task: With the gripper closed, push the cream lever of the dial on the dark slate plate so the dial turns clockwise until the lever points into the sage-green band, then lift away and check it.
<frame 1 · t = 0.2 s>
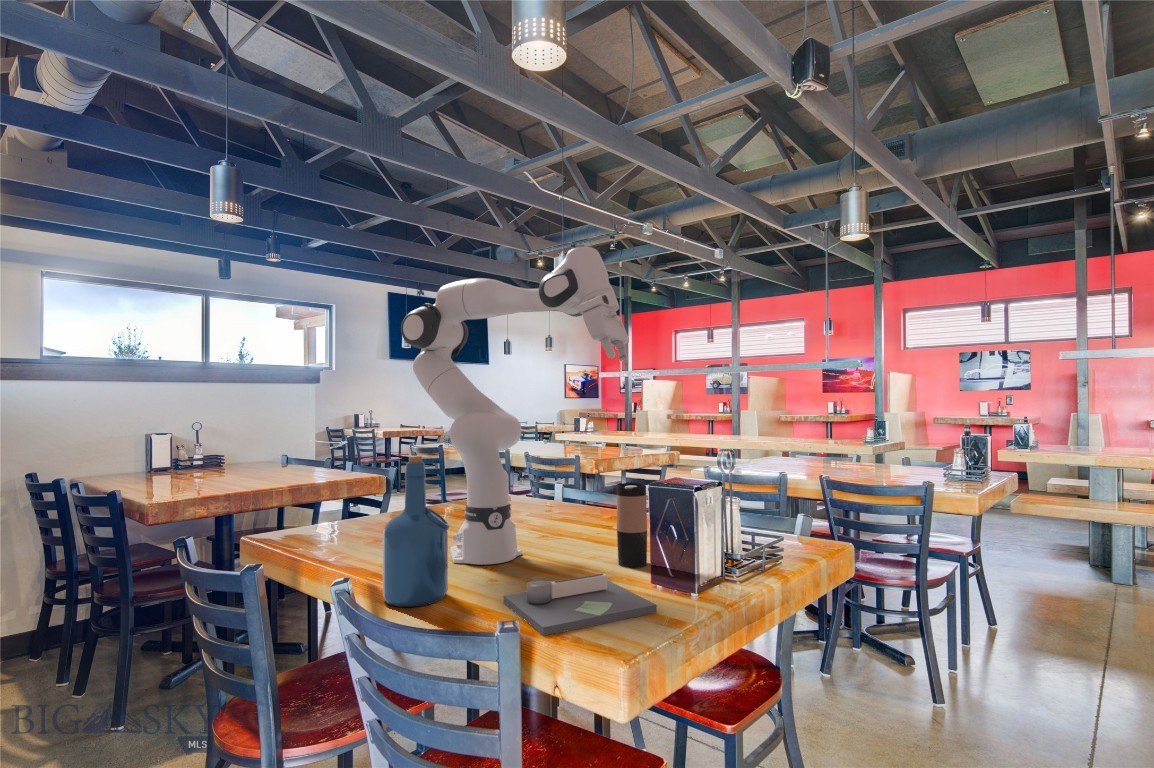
hand: (618, 358, 144), 52 cm above the table, tool tilted 20°, fingers open, 8 cm apart
travel mug: (632, 564, 149), on the table
dial lever: (567, 586, 120), point 3 cm above the table, hinge at 0.0°
dial plate: (577, 607, 117), on the table
wine bottle: (416, 599, 125), on the table
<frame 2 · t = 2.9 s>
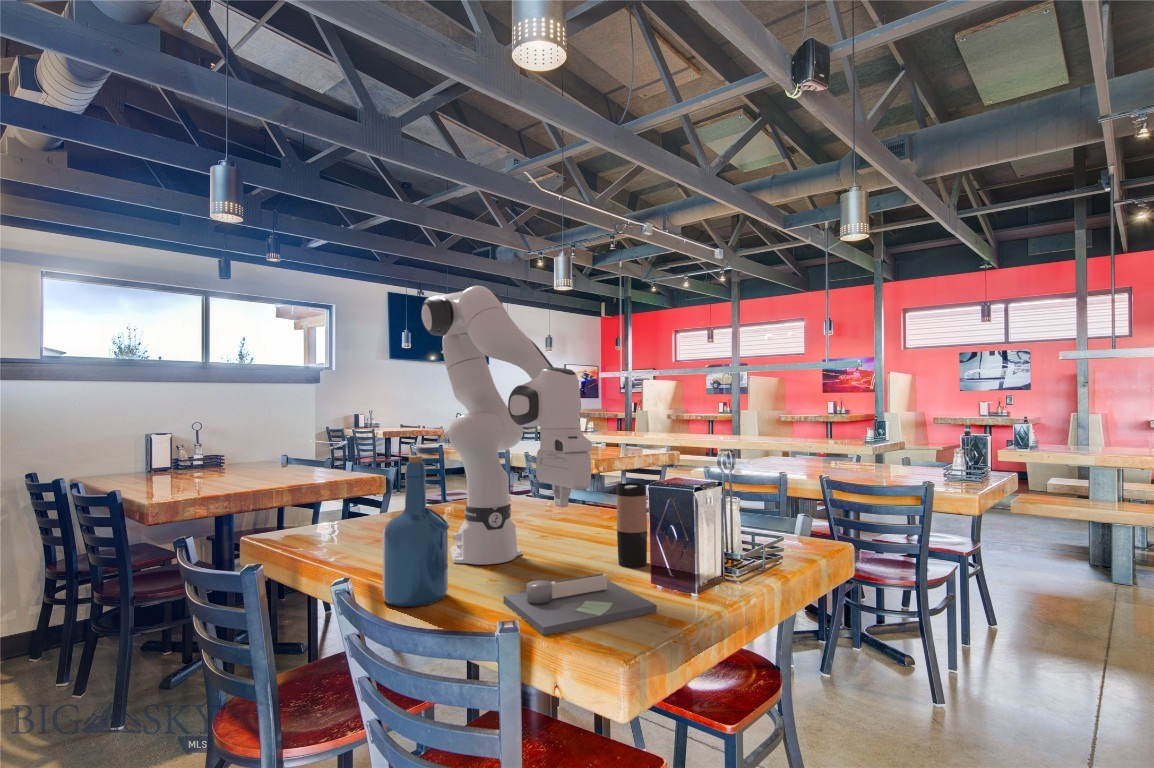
hand: (561, 506, 127), 19 cm above the table, tool pointing down, fingers closed
nothing on the table moved.
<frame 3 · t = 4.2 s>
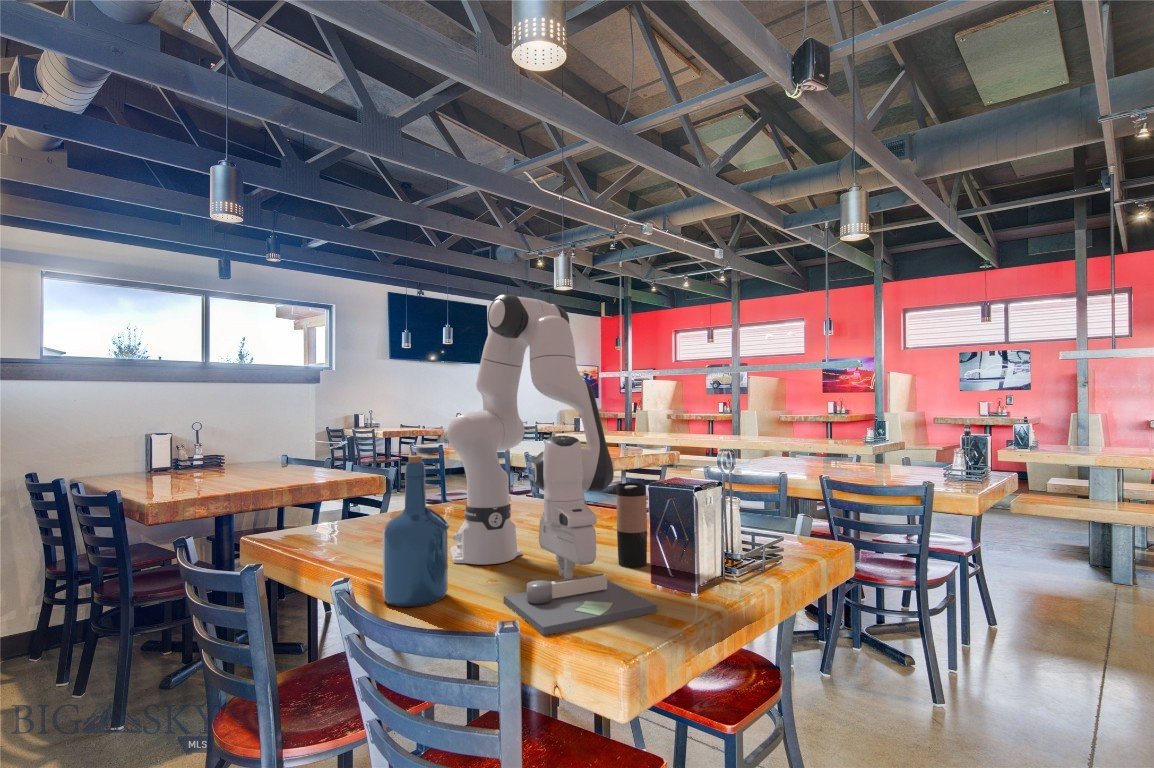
hand: (566, 577, 126), 4 cm above the table, tool pointing down, fingers closed
nothing on the table moved.
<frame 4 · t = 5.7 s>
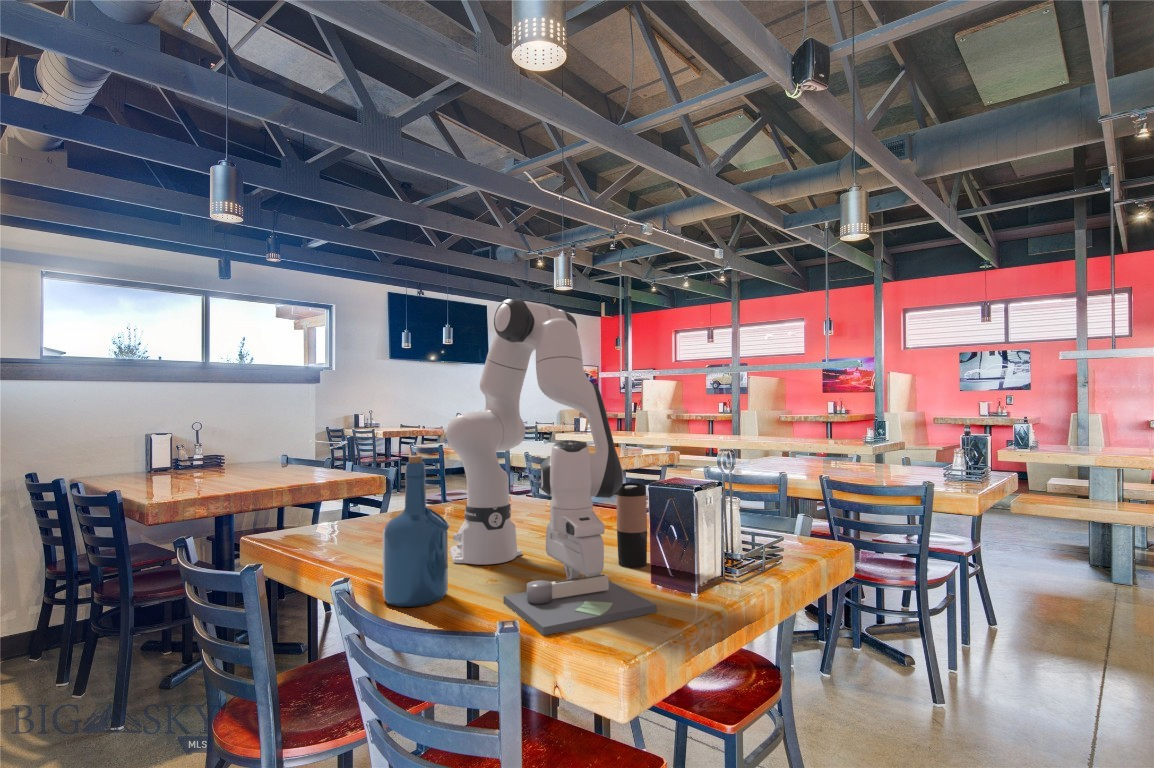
hand: (572, 587, 122), 3 cm above the table, tool pointing down, fingers closed, pressing on dial lever
dial lever: (568, 587, 120), point 3 cm above the table, hinge at 2.7°, touching gripper
everything else where it was.
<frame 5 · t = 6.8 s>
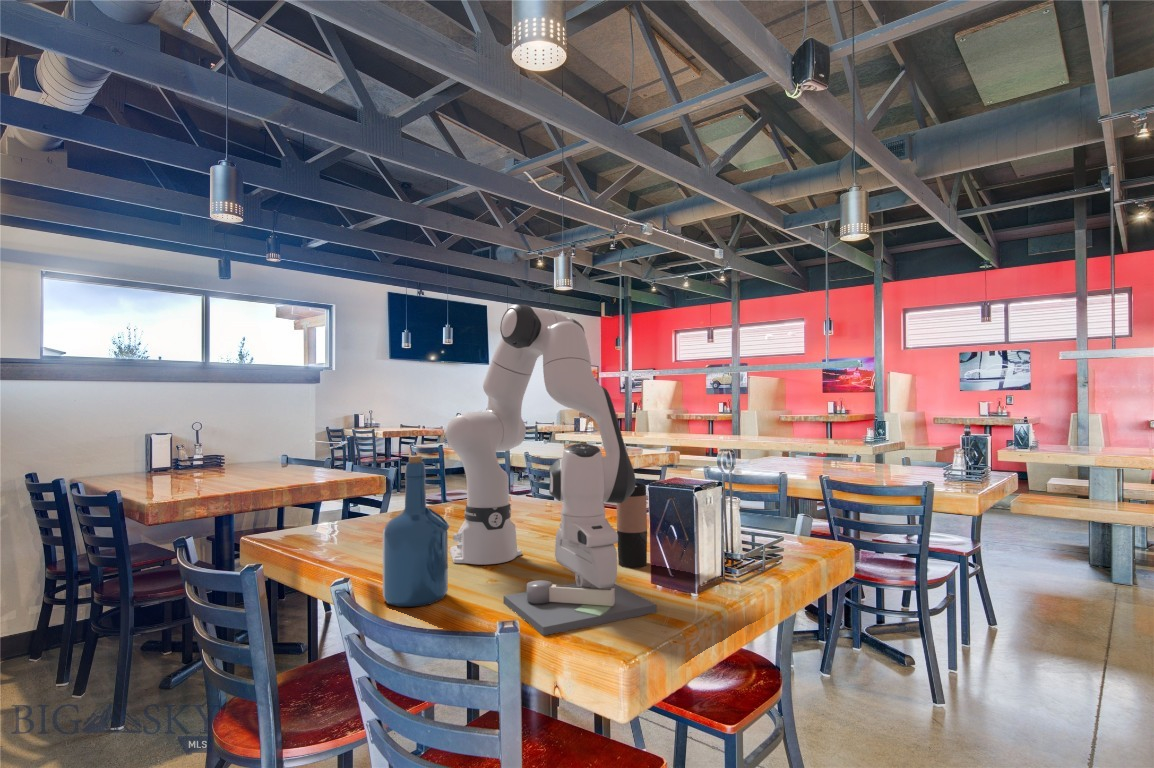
hand: (583, 596, 117), 2 cm above the table, tool pointing down, fingers closed, pressing on dial lever
dial lever: (569, 593, 115), point 3 cm above the table, hinge at 41.7°, touching gripper
everything else where it was.
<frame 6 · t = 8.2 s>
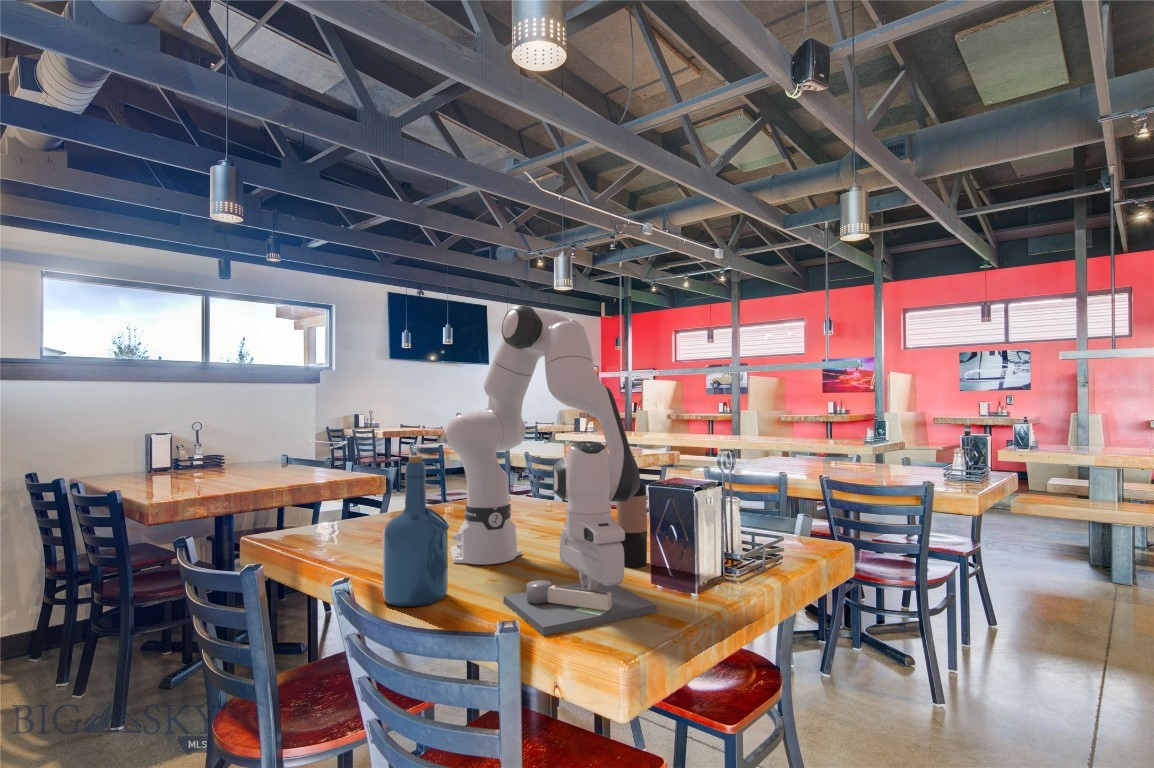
hand: (589, 596, 115), 3 cm above the table, tool pointing down, fingers closed
dial lever: (567, 595, 114), point 3 cm above the table, hinge at 52.3°, touching gripper
everything else where it was.
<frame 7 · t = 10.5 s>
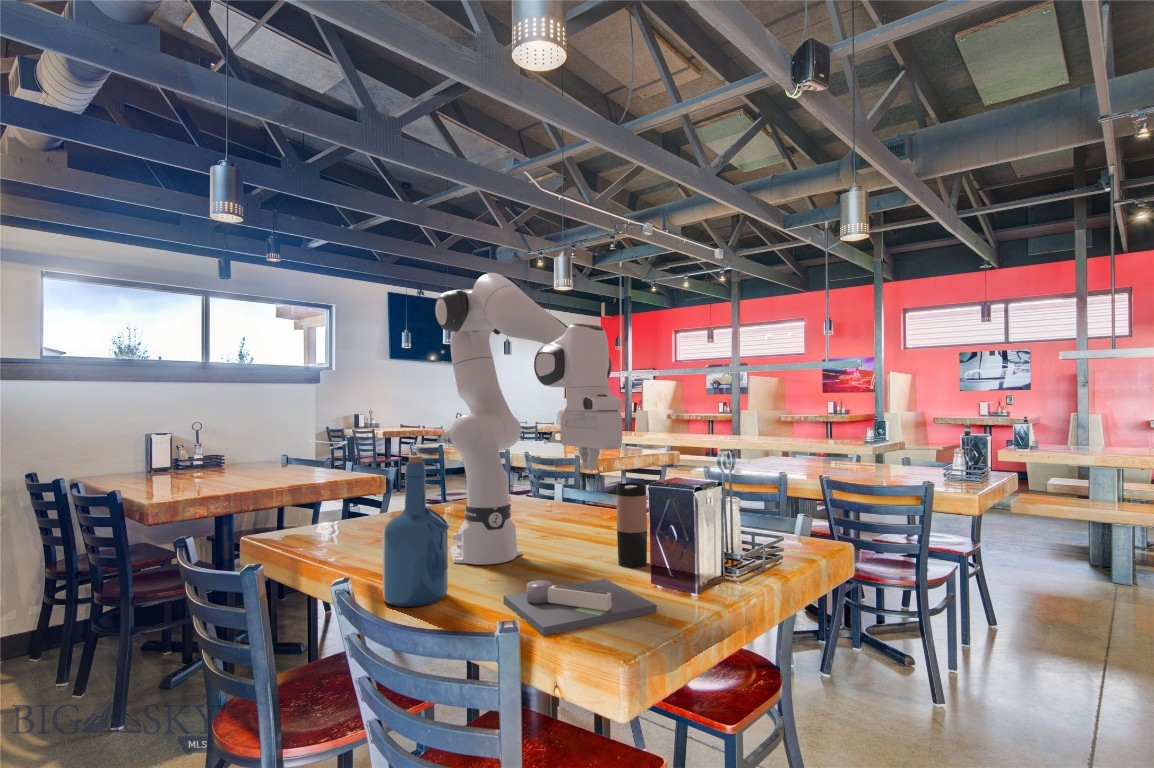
hand: (589, 470, 120), 27 cm above the table, tool pointing down, fingers closed
dial lever: (567, 595, 114), point 3 cm above the table, hinge at 52.7°
everything else where it was.
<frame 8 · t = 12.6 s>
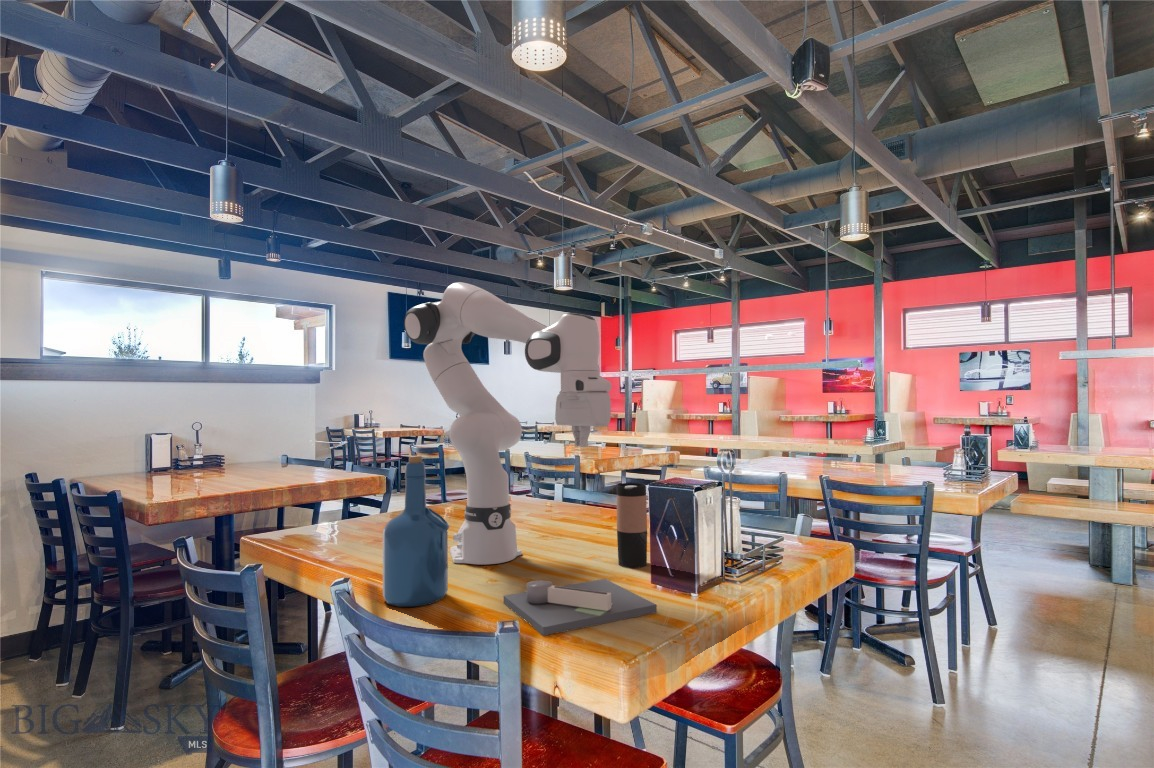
hand: (581, 446, 132), 31 cm above the table, tool pointing down, fingers closed
nothing on the table moved.
at the end: dial lever at +53° (first picture: +0°); wine bottle moved 0.2 cm from its start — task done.
